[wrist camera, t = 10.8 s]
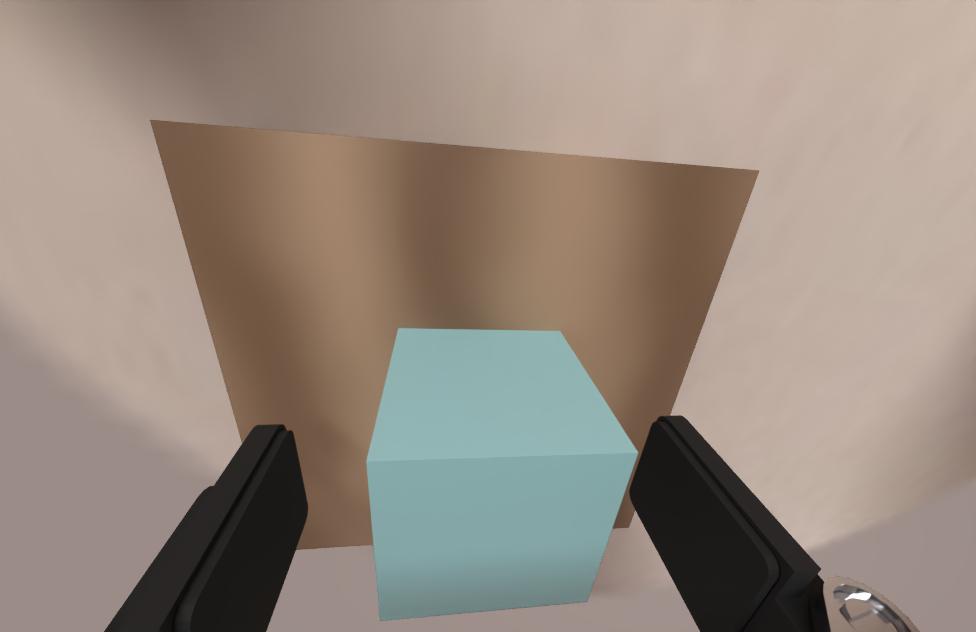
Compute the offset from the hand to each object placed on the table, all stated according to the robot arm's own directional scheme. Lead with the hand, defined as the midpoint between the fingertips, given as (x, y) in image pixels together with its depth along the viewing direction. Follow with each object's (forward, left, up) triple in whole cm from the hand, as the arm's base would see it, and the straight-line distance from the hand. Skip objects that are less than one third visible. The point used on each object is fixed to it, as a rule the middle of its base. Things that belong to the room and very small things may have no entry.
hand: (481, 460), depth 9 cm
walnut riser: (0, 0, -7) cm, 7 cm away
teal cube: (0, 0, -3) cm, 3 cm away
